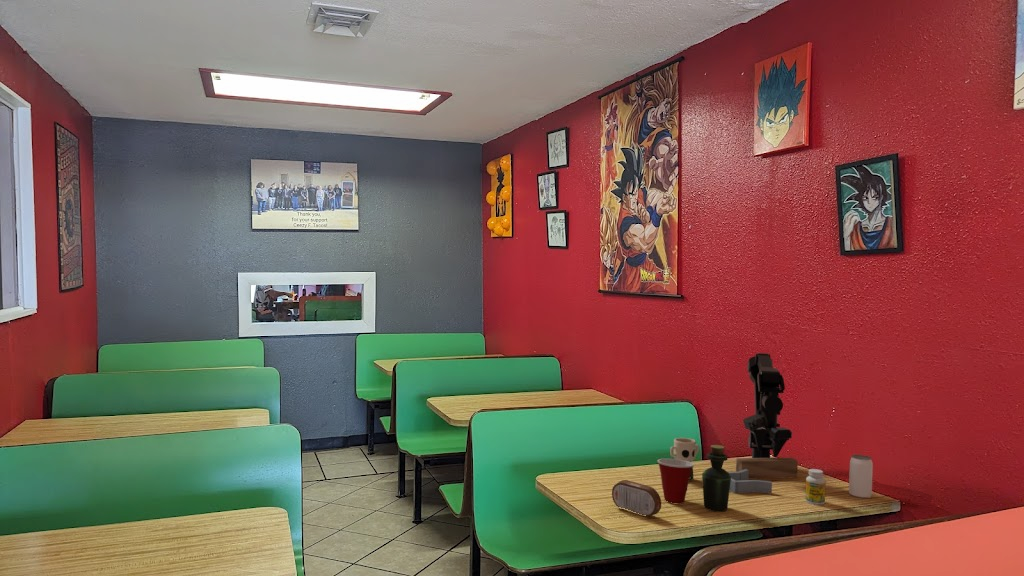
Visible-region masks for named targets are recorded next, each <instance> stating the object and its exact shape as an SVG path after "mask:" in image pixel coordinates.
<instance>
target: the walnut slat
mask: <svg viewBox="0 0 1024 576" xmlns="http://www.w3.org/2000/svg"><path fill="white" fill-rule="evenodd" d="M735 459H736V461H735V462H736V463H735V464H736V465H735V466H736V467H735V472H738V471H741V470H744V469H747V470H749V474H748V479H784V478H783V477H797V478H798V467H799V466H798V464H799V462H798V459H795V458H793V457H770V458H752V457H740V458H739V457H736V458H735ZM780 477H782V478H780Z"/></svg>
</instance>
